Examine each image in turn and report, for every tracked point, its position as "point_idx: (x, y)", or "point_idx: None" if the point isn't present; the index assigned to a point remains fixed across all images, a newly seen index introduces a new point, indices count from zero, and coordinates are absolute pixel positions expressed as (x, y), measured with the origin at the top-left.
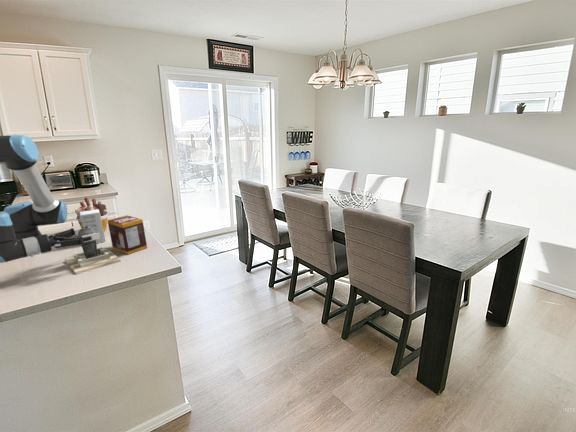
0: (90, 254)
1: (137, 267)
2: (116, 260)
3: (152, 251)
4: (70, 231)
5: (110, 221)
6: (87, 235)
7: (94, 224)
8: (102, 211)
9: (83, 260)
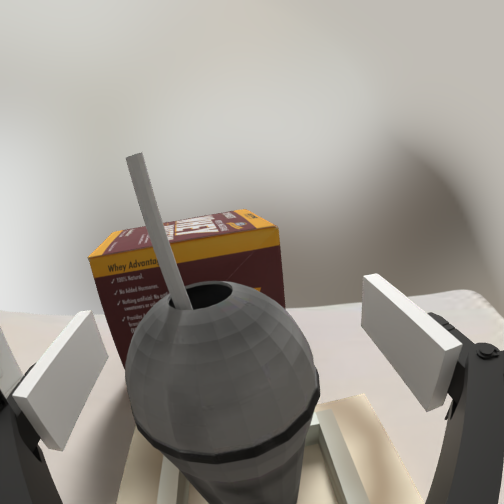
0: (298, 489)
1: None
2: (370, 406)
3: (315, 323)
4: (14, 438)
5: (126, 253)
6: (429, 316)
7: None
8: None
9: None
